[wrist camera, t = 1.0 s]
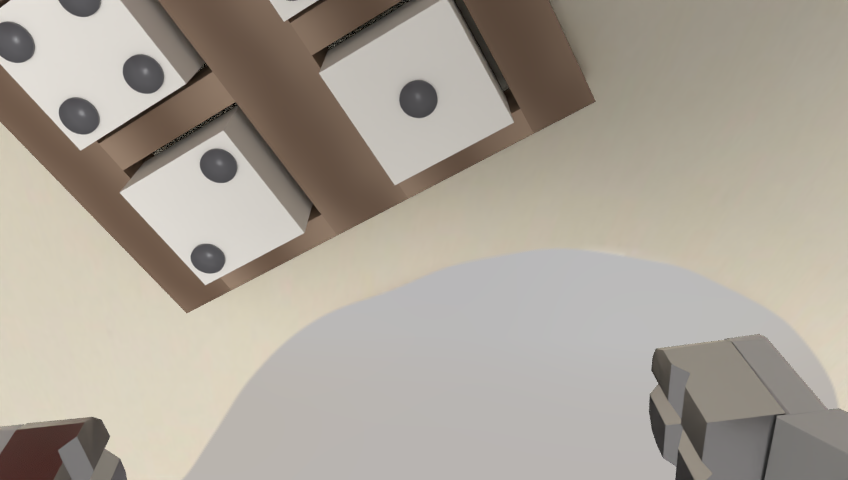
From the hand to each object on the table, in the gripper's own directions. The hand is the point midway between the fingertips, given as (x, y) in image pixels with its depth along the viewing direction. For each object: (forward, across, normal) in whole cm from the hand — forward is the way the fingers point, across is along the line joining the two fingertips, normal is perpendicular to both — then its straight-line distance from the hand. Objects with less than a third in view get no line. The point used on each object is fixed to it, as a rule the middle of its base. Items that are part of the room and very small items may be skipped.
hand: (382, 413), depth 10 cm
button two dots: (+24, +8, +6) cm, 26 cm away
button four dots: (+24, +12, -2) cm, 27 cm away
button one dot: (+23, -2, +1) cm, 23 cm away
